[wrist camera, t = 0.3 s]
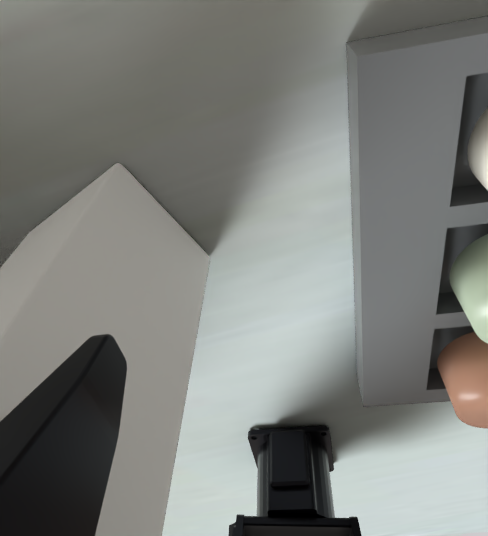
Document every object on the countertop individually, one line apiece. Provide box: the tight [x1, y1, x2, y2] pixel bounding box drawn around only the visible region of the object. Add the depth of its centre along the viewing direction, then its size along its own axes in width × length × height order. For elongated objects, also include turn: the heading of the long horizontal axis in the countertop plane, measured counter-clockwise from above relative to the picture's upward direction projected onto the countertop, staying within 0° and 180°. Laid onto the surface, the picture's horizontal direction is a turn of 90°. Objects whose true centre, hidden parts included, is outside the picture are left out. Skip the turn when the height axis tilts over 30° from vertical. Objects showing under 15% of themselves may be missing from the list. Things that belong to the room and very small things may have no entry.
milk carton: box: [0, 163, 210, 536], centre depth 16 cm, size 7×7×19 cm
